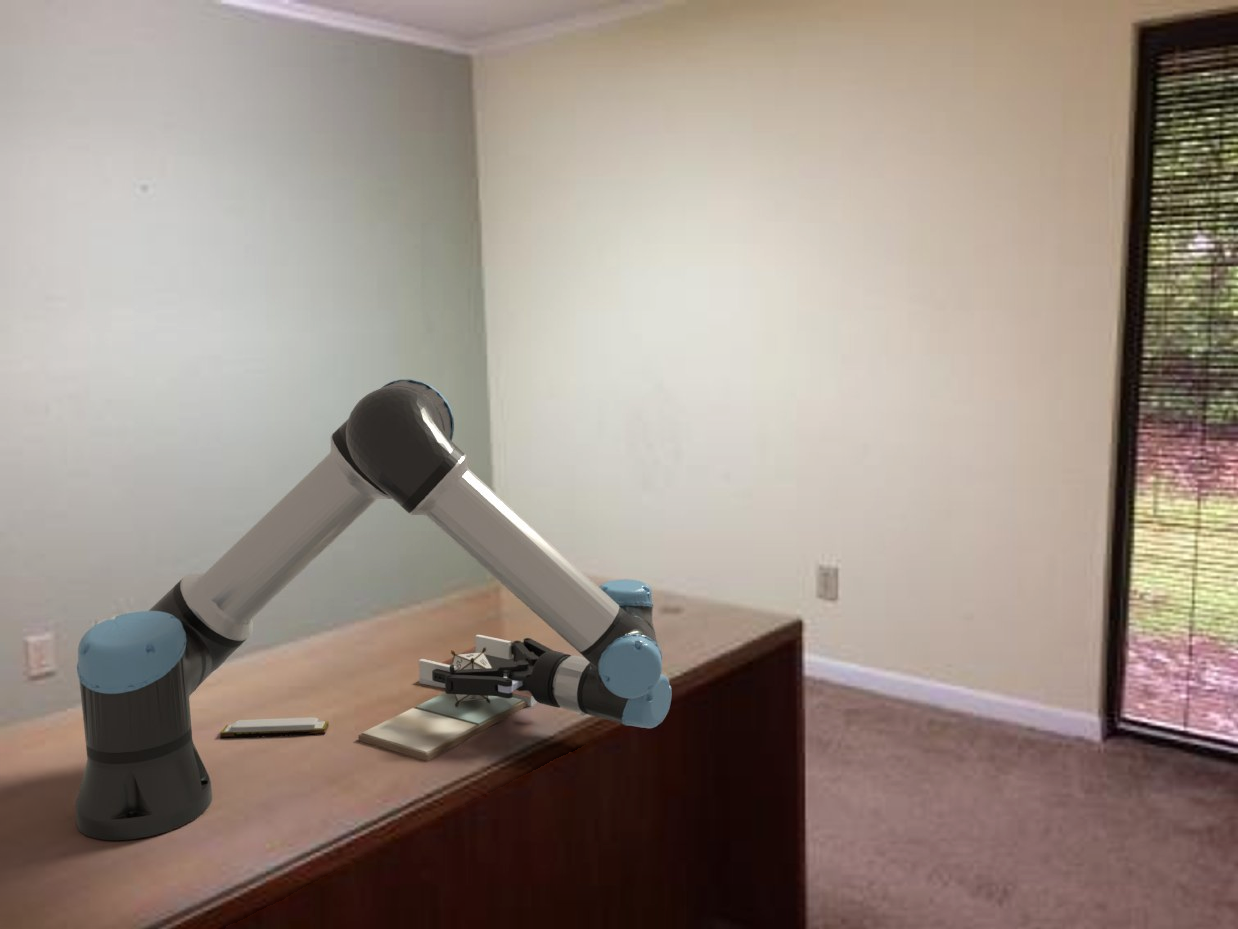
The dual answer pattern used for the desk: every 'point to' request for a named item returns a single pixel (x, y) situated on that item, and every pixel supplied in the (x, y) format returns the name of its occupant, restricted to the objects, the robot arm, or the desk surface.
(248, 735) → the harmonica
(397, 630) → the desk surface
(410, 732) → the board
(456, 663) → the game die
